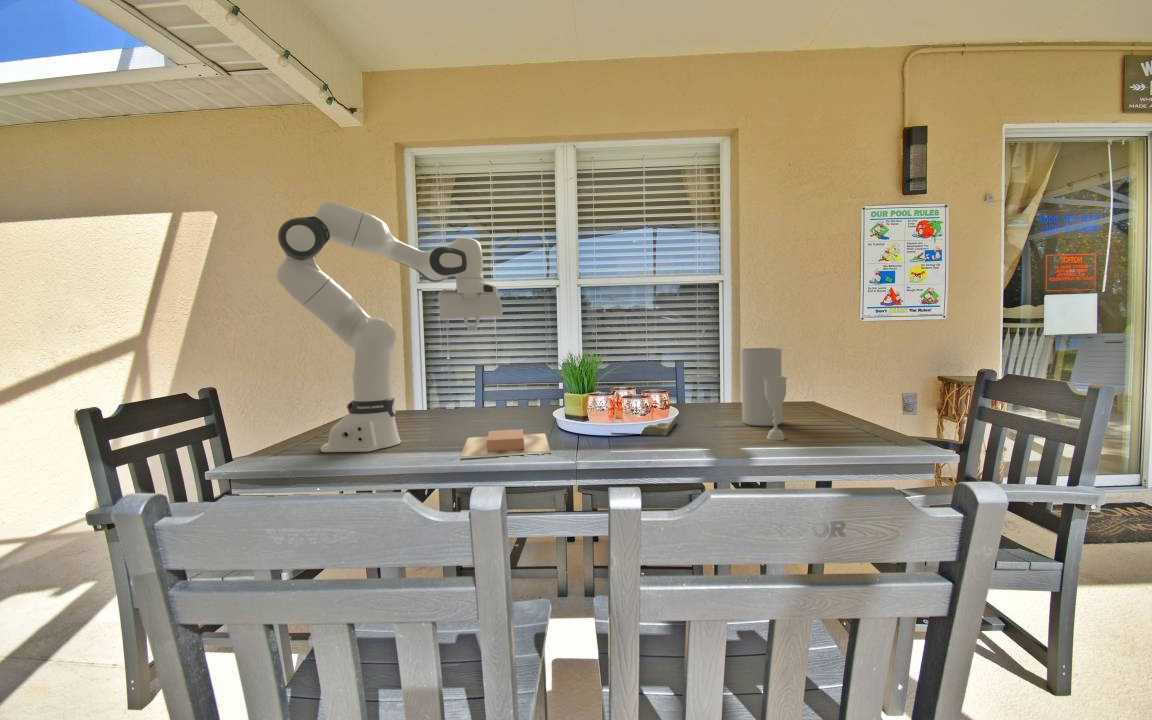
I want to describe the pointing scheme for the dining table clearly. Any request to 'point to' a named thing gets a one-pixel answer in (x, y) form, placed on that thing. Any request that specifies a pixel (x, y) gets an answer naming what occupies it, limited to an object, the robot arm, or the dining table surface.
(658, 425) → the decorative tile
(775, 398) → the chalice
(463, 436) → the dining table surface
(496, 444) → the terracotta tile
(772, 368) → the cylinder vase
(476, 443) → the oak board
